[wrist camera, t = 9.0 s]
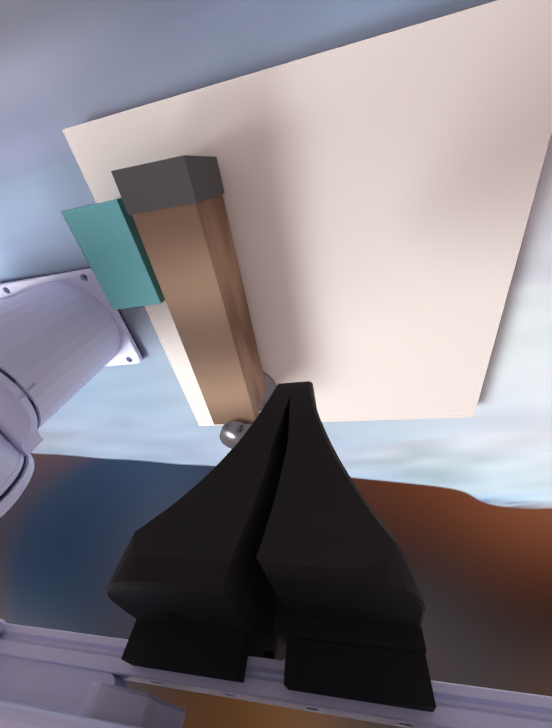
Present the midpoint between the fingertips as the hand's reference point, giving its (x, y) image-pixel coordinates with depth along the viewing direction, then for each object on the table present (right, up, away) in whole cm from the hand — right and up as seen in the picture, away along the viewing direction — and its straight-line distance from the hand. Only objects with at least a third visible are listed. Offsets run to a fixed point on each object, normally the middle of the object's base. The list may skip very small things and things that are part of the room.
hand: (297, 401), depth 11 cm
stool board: (+1, +6, +8) cm, 10 cm away
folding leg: (-4, +5, +8) cm, 10 cm away
